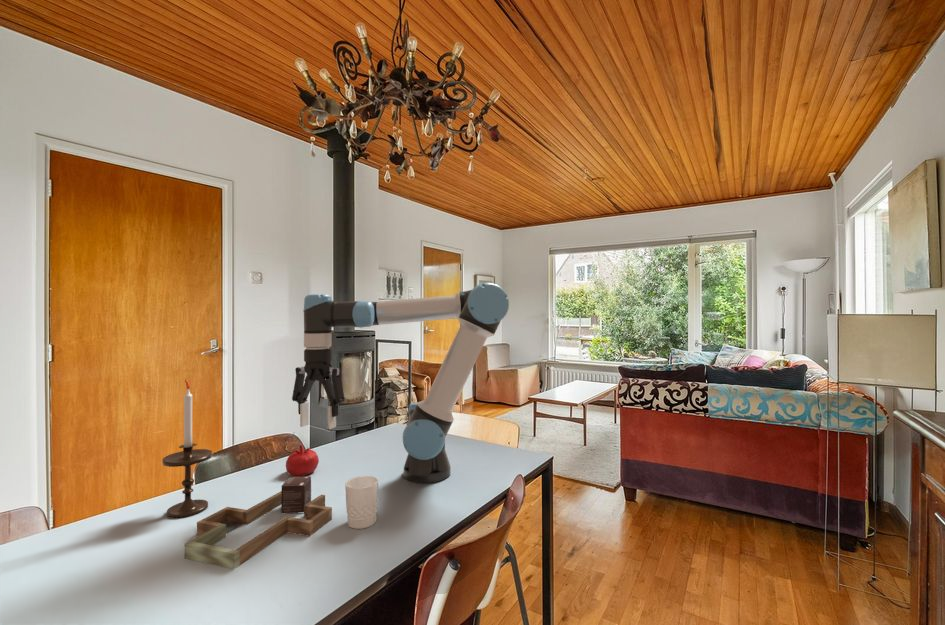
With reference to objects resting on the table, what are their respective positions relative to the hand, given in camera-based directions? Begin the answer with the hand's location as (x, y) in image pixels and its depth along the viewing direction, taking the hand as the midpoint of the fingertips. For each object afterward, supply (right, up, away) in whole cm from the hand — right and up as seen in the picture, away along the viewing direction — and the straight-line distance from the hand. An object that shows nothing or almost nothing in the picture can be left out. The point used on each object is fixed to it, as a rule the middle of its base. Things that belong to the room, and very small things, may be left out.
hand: (318, 426), depth 120 cm
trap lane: (-6, -19, -20) cm, 28 cm away
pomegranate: (-11, -20, +17) cm, 29 cm away
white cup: (+17, -19, -17) cm, 31 cm away
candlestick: (-31, -20, -10) cm, 38 cm away
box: (-2, -20, -9) cm, 22 cm away
